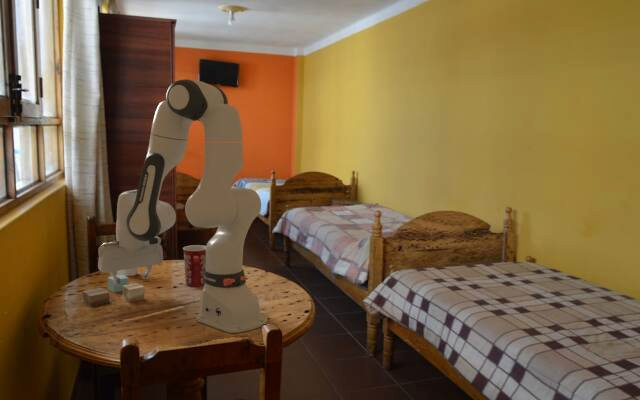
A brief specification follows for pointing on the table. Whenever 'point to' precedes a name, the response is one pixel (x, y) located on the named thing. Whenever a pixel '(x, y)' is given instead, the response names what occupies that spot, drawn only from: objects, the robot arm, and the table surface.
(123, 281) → the teal block
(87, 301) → the walnut base
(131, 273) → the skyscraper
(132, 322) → the table surface
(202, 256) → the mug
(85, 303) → the mat
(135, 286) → the maple block
